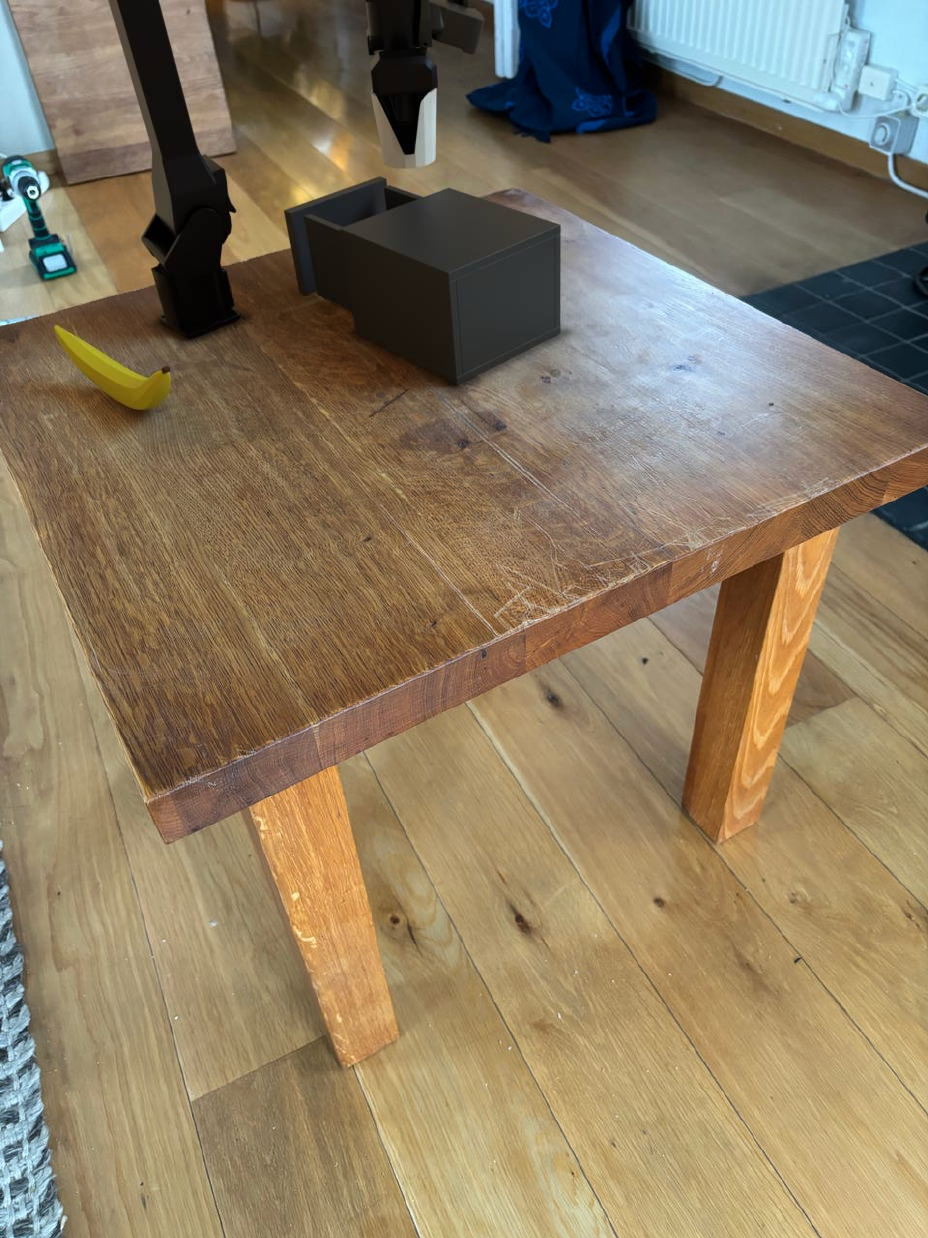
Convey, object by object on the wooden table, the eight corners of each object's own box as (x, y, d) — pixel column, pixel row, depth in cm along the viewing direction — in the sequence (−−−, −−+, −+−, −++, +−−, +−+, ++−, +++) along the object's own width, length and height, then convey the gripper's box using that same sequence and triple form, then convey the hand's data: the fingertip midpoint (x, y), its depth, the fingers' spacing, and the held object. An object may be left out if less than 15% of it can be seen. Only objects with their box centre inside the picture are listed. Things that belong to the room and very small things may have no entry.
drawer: (277, 282, 106) (260, 200, 100) (367, 247, 112) (356, 167, 106) (382, 334, 95) (370, 246, 89) (475, 292, 101) (470, 206, 95)
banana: (85, 365, 96) (63, 305, 92) (200, 424, 87) (181, 360, 82) (59, 377, 95) (35, 316, 91) (173, 439, 85) (153, 374, 81)
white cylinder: (386, 174, 101) (378, 100, 96) (371, 155, 106) (363, 84, 101) (449, 164, 102) (444, 90, 97) (431, 146, 107) (426, 75, 102)
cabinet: (355, 333, 98) (339, 228, 91) (456, 289, 104) (448, 187, 97) (457, 385, 89) (448, 272, 82) (560, 333, 95) (561, 224, 88)
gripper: (487, -20, 86) (493, 166, 96) (466, -52, 99) (473, 113, 110) (362, -10, 85) (382, 176, 96) (358, -44, 99) (376, 122, 109)
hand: (407, 144), depth 103 cm, fingers closed on white cylinder, 6 cm apart
